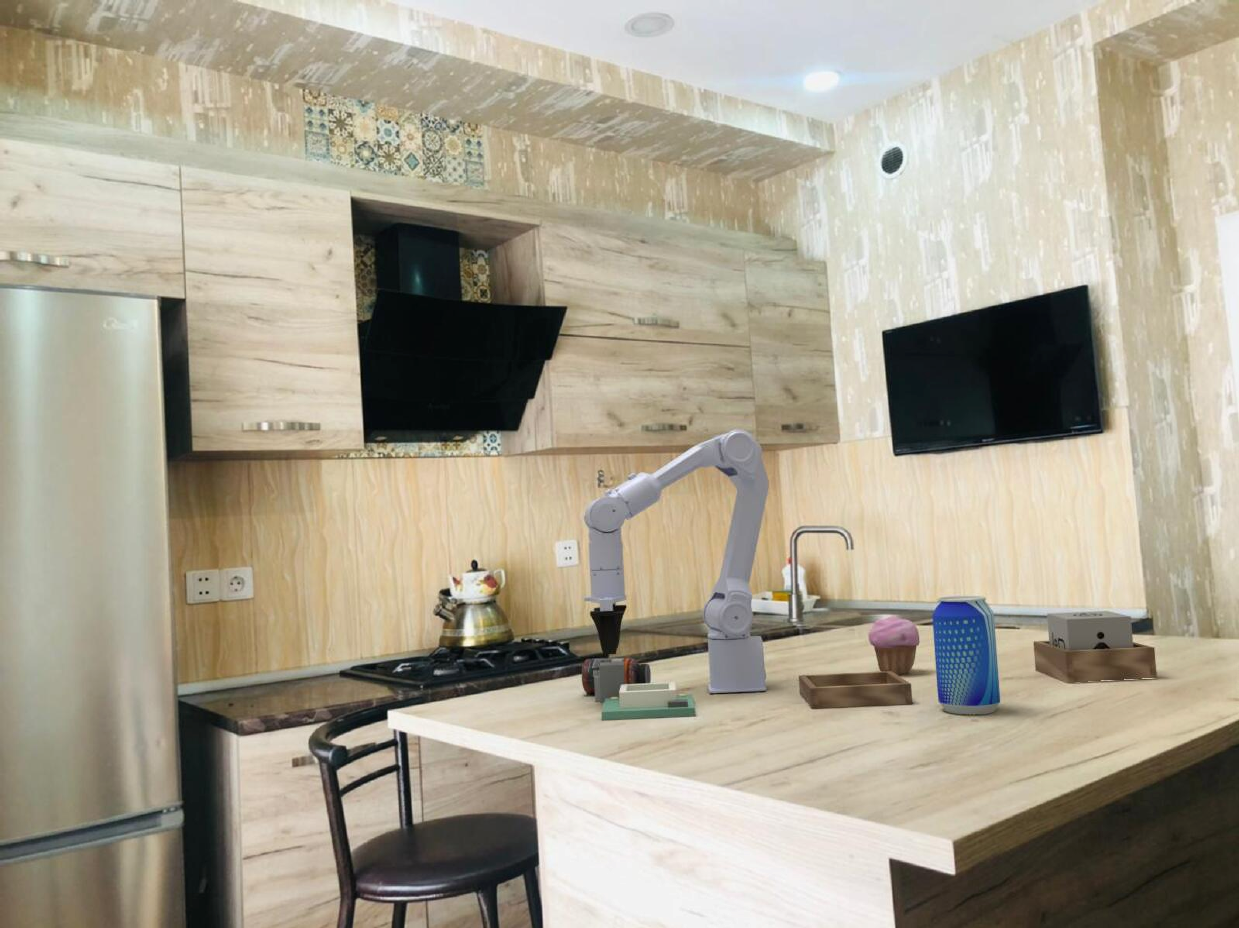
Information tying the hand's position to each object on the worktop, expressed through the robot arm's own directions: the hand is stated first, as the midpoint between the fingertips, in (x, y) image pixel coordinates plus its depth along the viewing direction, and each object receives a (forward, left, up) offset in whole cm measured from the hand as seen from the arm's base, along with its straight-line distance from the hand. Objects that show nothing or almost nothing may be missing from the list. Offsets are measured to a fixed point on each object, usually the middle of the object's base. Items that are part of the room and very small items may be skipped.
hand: (610, 651), depth 170 cm
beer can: (-52, +22, -8) cm, 57 cm away
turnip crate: (-38, +9, -8) cm, 40 cm away
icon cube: (-80, -3, -8) cm, 80 cm away
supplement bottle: (+5, -8, -5) cm, 11 cm away
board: (-6, +11, -8) cm, 15 cm away
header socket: (-6, +11, -7) cm, 14 cm away
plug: (0, 0, -8) cm, 8 cm away
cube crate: (-80, -3, -8) cm, 81 cm away
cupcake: (-50, -14, -8) cm, 53 cm away
